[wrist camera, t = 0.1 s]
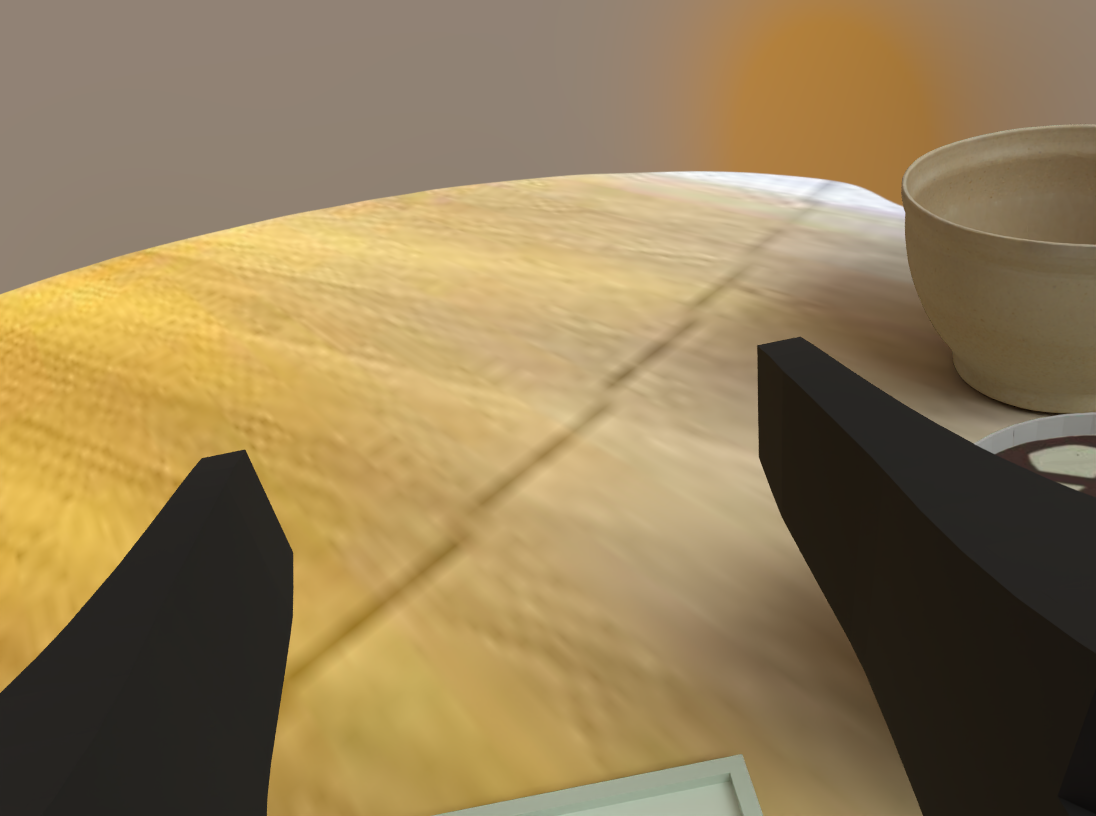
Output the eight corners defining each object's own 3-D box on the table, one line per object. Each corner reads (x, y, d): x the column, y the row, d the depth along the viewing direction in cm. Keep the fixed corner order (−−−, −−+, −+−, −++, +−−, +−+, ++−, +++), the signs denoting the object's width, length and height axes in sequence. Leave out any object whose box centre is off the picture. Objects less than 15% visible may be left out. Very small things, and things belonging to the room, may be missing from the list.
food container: (929, 582, 38) (950, 380, 32) (1099, 620, 35) (1153, 406, 30) (862, 841, 29) (875, 626, 24) (1080, 919, 26) (1152, 695, 21)
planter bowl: (1317, 419, 42) (1399, 198, 37) (982, 486, 42) (1011, 275, 36) (1100, 279, 56) (1135, 101, 50) (845, 329, 56) (851, 156, 50)
